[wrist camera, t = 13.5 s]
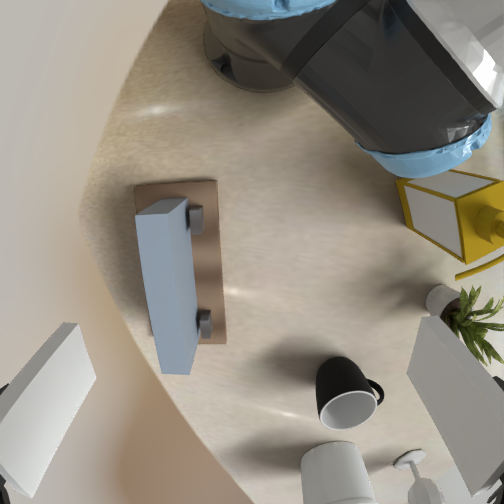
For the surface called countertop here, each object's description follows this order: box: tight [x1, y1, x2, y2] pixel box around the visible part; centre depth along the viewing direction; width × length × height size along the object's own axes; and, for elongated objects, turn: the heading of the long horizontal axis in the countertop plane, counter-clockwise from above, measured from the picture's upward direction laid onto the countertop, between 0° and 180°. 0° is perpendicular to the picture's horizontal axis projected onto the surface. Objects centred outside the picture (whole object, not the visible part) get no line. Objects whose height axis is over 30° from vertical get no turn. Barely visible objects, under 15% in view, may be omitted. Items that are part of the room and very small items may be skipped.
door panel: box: [135, 198, 201, 375], centre depth 39 cm, size 20×4×10 cm, turn 1°
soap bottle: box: [395, 169, 504, 281], centre depth 31 cm, size 7×13×24 cm, turn 112°
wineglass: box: [394, 449, 445, 504], centre depth 52 cm, size 9×9×21 cm
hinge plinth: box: [134, 181, 227, 344], centre depth 43 cm, size 24×11×4 cm, turn 1°
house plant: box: [426, 285, 504, 366], centre depth 39 cm, size 14×14×16 cm
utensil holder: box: [301, 441, 378, 504], centre depth 51 cm, size 15×15×18 cm
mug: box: [316, 357, 384, 430], centre depth 46 cm, size 12×9×10 cm
